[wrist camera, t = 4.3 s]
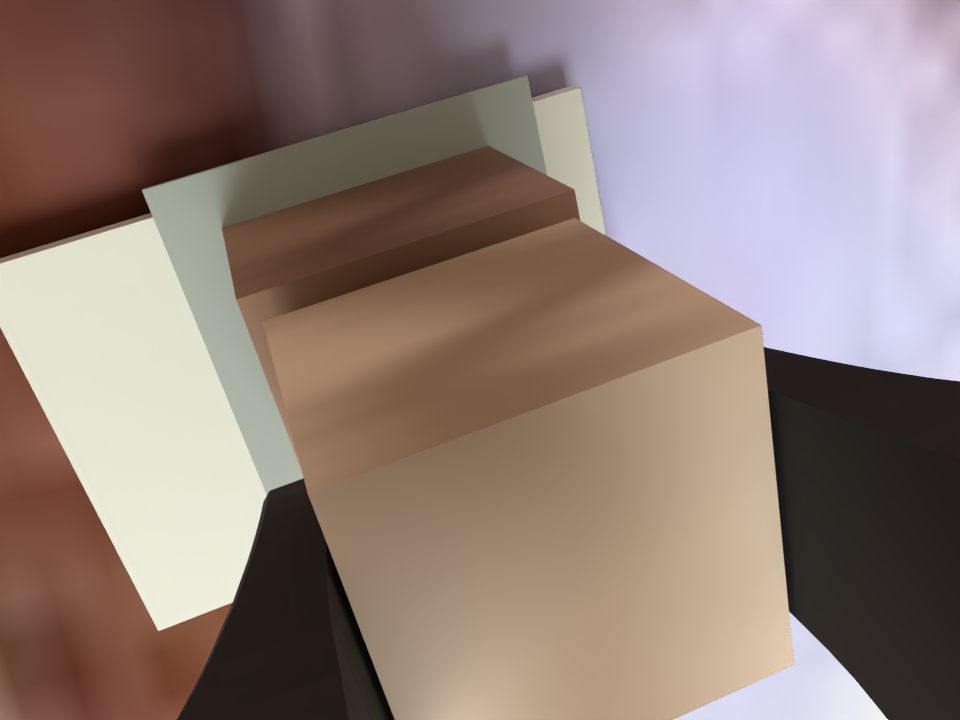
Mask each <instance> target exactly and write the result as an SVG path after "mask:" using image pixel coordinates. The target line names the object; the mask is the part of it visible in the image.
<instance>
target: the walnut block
mask: <svg viewBox="0 0 960 720" xmlns="http://www.w3.org/2000/svg"><path fill="white" fill-rule="evenodd" d="M573 218H576V219H578V220H580V216H579V211H578V205H577V200H576V194H575V189H573V188H571V187H569V186H567V185H565V184H563V183H561V182H559V181H557V180H555V179H553V178H551V177H549V176H547V175H545V174H543V173H541V172H539V171H537V170H535V169H533V168H532V167H530V166H528V165H526V164H524V163H522V162H520V161H518V160H516V159H514V158H512V157H510V156H508V155H506V154H504V153H502V152H500V151H498V150H496V149H494V148H492V147H490V146H485V147H482V148H479V149H476V150H472V151H469V152H466V153H463V154H459V155H456V156H453V157H450V158H447V159H443V160H440V161H437V162H434V163H430V164H427V165H424V166H421V167H418V168H414V169H411V170H408V171H405V172H401V173H398V174H395V175H392V176H388V177H385V178H382V179H379V180H376V181H372V182H369V183H366V184H363V185H359V186H356V187H353V188H350V189H347V190H343V191H340V192H337V193H334V194H330V195H327V196H324V197H321V198H317V199H314V200H311V201H308V202H305V203H301V204H298V205H295V206H292V207H288V208H285V209H282V210H279V211H276V212H272V213H269V214H266V215H263V216H259V217H256V218H253V219H250V220H247V221H243V222H240V223H237V224H234V225H230V226H227V227H224V228H222V232H223V237H224V242H225V247H226V252H227V257H228V262H229V267H230V272H231V277H232V282H233V287H234V292H235V296H236V301H237V303H238V306H239V308H240V311H241V314H242V316H243V319H244V321H245V324H246V327H247V329H248V332H249V335H250V337H251V340H252V342H253V345H254V348H255V350H256V353H257V355H258V358H259V361H260V363H261V366H262V369H263V371H264V374H265V376H266V379H267V382H268V384H269V387H270V389H271V392H272V395H273V397H274V400H275V402H276V405H277V408H278V410H279V413H280V416H281V418H282V421H283V423H284V426H285V429H286V431H287V434H288V436H289V439H290V442H291V444H292V447H293V449H294V452H295V455H296V457H297V460H298V463H299V465H300V462H299V459H298V455H297V451H296V447H295V444H294V440H293V436H292V432H291V428H290V425H289V421H288V417H287V413H286V410H285V406H284V402H283V398H282V394H281V391H280V387H279V383H278V379H277V376H276V372H275V368H274V364H273V360H272V357H271V353H270V349H269V345H268V342H267V338H266V334H265V330H264V326H263V323H262V322H263V321H266V320H269V319H272V318H275V317H278V316H281V315H284V314H287V313H290V312H293V311H296V310H299V309H302V308H305V307H308V306H311V305H314V304H317V303H320V302H323V301H326V300H329V299H332V298H335V297H338V296H341V295H344V294H347V293H350V292H353V291H356V290H359V289H362V288H365V287H368V286H371V285H374V284H377V283H380V282H383V281H386V280H389V279H392V278H395V277H398V276H401V275H404V274H407V273H410V272H413V271H416V270H419V269H422V268H425V267H428V266H431V265H434V264H437V263H440V262H443V261H446V260H449V259H452V258H456V257H459V256H462V255H465V254H468V253H471V252H474V251H477V250H480V249H483V248H486V247H489V246H492V245H495V244H498V243H501V242H504V241H507V240H510V239H513V238H516V237H519V236H522V235H525V234H528V233H531V232H534V231H537V230H540V229H543V228H546V227H549V226H552V225H555V224H558V223H561V222H564V221H567V220H570V219H573ZM300 468H301V466H300Z"/></svg>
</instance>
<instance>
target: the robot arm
mask: <svg viewBox="0 0 960 720" xmlns="http://www.w3.org/2000/svg"><path fill="white" fill-rule="evenodd" d="M764 358H765V368H766V378H767V389H768V399H769V410H770V420H771V430H772V441H773V451H774V461H775V472H776V482H777V493H778V503H779V513H780V524H781V534H782V544H783V555H784V565H785V576H786V586H787V596H788V607H789V612H790V613H791V614H792V615H793V616H794V617H795V618H796V619H797V620H798V621H799V622H800V623H802V624H803V625H804V626H805V627H806V628H807V629H808V630H809V631H810V632H811V633H812V634H813V635H814V636H815V637H816V638H817V639H818V640H819V641H820V642H821V643H822V644H823V645H824V646H825V647H826V648H827V649H828V650H829V651H830V652H831V654H832V655H833V656H834V657H835V658H836V659H837V660H838V661H839V662H840V663H841V664H842V665H843V667H844V668H845V669H846V670H847V671H848V672H849V673H850V674H851V675H852V676H853V677H854V679H855V680H856V681H857V682H858V683H859V685H860V686H861V687H862V688H863V689H864V691H865V692H866V693H867V694H868V696H869V697H870V698H871V699H872V700H873V702H874V703H875V704H876V705H877V707H878V708H879V709H880V710H881V712H882V713H883V714H884V715H885V716H886V718H887V719H888V720H960V382H959V381H951V380H943V379H934V378H927V377H920V376H914V375H907V374H901V373H894V372H888V371H882V370H875V369H870V368H864V367H859V366H853V365H848V364H842V363H837V362H832V361H827V360H822V359H817V358H812V357H808V356H803V355H798V354H793V353H789V352H784V351H779V350H775V349H770V348H765V347H764ZM177 720H395V719H394V717H393V714H392V711H391V709H390V706H389V704H388V701H387V698H386V696H385V693H384V691H383V688H382V685H381V683H380V680H379V678H378V675H377V672H376V670H375V667H374V665H373V662H372V659H371V657H370V654H369V652H368V649H367V646H366V644H365V641H364V639H363V636H362V633H361V631H360V628H359V626H358V623H357V620H356V618H355V615H354V613H353V610H352V607H351V605H350V602H349V600H348V597H347V594H346V592H345V589H344V587H343V584H342V581H341V579H340V576H339V574H338V571H337V568H336V566H335V563H334V561H333V558H332V555H331V553H330V550H329V548H328V545H327V542H326V540H325V537H324V535H323V532H322V529H321V527H320V524H319V522H318V519H317V516H316V514H315V511H314V509H313V506H312V503H311V501H310V498H309V496H308V493H307V489H306V485H305V481H304V478H303V479H300V480H297V481H295V482H292V483H289V484H287V485H284V486H281V487H278V488H276V489H273V490H270V491H269V493H268V494H267V496H266V498H265V500H264V502H263V506H262V511H261V515H260V519H259V523H258V527H257V531H256V534H255V538H254V541H253V545H252V548H251V551H250V554H249V558H248V561H247V564H246V566H245V569H244V572H243V575H242V578H241V581H240V583H239V586H238V589H237V592H236V595H235V597H234V600H233V603H232V605H231V608H230V610H229V613H228V615H227V618H226V620H225V622H224V624H223V627H222V629H221V631H220V633H219V636H218V638H217V640H216V643H215V645H214V647H213V649H212V652H211V654H210V656H209V659H208V661H207V663H206V665H205V667H204V669H203V671H202V673H201V675H200V677H199V679H198V681H197V683H196V685H195V687H194V689H193V691H192V693H191V695H190V697H189V699H188V700H187V702H186V704H185V706H184V708H183V709H182V711H181V713H180V715H179V717H178V718H177Z"/></svg>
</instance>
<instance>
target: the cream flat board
mask: <svg viewBox="0 0 960 720" xmlns="http://www.w3.org/2000/svg"><path fill="white" fill-rule="evenodd" d="M485 146H490V147H492V148H494V149H496V150H498V151H500V152H502V153H504V154H506V155H508V156H510V157H512V158H514V159H516V160H518V161H520V162H522V163H524V164H526V165H528V166H530V167H532V168H533V169H535V170H537V171H539V172H541V173H543V174H545V175H547V176H549V177H551V178H553V179H555V180H557V181H559V182H561V183H563V184H565V185H567V186H569V187H571V188H573V189H575V194H576V200H577V205H578V211H579V216H580V221H581V222H583V223H585V224H586V225H588V226H590V227H592V228H593V229H595V230H597V231H599V232H600V233H602V234H604V235H606V233H605V228H604V222H603V216H602V210H601V205H600V199H599V193H598V187H597V181H596V176H595V170H594V164H593V158H592V153H591V147H590V141H589V135H588V129H587V124H586V118H585V112H584V106H583V101H582V95H581V89H580V87H576V86H569V87H565V88H562V89H559V90H555V91H552V92H549V93H545V94H542V95H539V96H536V97H532V96H531V91H530V86H529V81H528V76H527V75H524V76H521V77H518V78H514V79H511V80H508V81H504V82H501V83H498V84H494V85H491V86H487V87H484V88H481V89H477V90H474V91H471V92H467V93H464V94H460V95H457V96H454V97H450V98H447V99H444V100H440V101H437V102H434V103H430V104H427V105H423V106H420V107H417V108H413V109H410V110H407V111H403V112H400V113H397V114H393V115H390V116H386V117H383V118H380V119H376V120H373V121H370V122H366V123H363V124H359V125H356V126H353V127H349V128H346V129H343V130H339V131H336V132H333V133H329V134H326V135H322V136H319V137H316V138H312V139H309V140H306V141H302V142H299V143H295V144H292V145H289V146H285V147H282V148H279V149H275V150H272V151H269V152H265V153H262V154H258V155H255V156H252V157H248V158H245V159H242V160H238V161H235V162H232V163H228V164H225V165H221V166H218V167H215V168H211V169H208V170H205V171H201V172H198V173H194V174H191V175H188V176H184V177H181V178H178V179H174V180H171V181H168V182H164V183H161V184H157V185H154V186H151V187H147V188H144V189H142V192H143V194H144V197H145V199H146V202H147V204H148V207H149V209H150V211H151V213H149V214H145V215H142V216H139V217H135V218H132V219H129V220H125V221H122V222H119V223H115V224H112V225H109V226H106V227H102V228H99V229H96V230H92V231H89V232H86V233H82V234H79V235H76V236H72V237H69V238H66V239H63V240H59V241H56V242H53V243H49V244H46V245H43V246H39V247H36V248H33V249H29V250H26V251H23V252H20V253H16V254H13V255H10V256H6V257H3V258H0V327H1V329H2V331H3V333H4V335H5V337H6V339H7V341H8V343H9V345H10V347H11V349H12V351H13V352H14V354H15V356H16V358H17V360H18V362H19V364H20V366H21V368H22V370H23V372H24V374H25V375H26V377H27V379H28V381H29V383H30V385H31V387H32V389H33V391H34V393H35V395H36V397H37V399H38V400H39V402H40V404H41V406H42V408H43V410H44V412H45V414H46V416H47V418H48V420H49V422H50V424H51V425H52V427H53V429H54V431H55V433H56V435H57V437H58V439H59V441H60V443H61V445H62V447H63V449H64V450H65V452H66V454H67V456H68V458H69V460H70V462H71V464H72V466H73V468H74V470H75V472H76V473H77V475H78V477H79V479H80V481H81V483H82V485H83V487H84V489H85V491H86V493H87V495H88V497H89V498H90V500H91V502H92V504H93V506H94V508H95V510H96V512H97V514H98V516H99V518H100V520H101V522H102V523H103V525H104V527H105V529H106V531H107V533H108V535H109V537H110V539H111V541H112V543H113V545H114V546H115V548H116V550H117V552H118V554H119V556H120V558H121V560H122V562H123V564H124V566H125V568H126V570H127V571H128V573H129V575H130V577H131V579H132V581H133V583H134V585H135V587H136V589H137V591H138V593H139V595H140V596H141V598H142V600H143V602H144V604H145V606H146V608H147V610H148V612H149V614H150V616H151V618H152V619H153V621H154V623H155V625H156V627H157V629H158V631H160V630H162V629H165V628H168V627H170V626H173V625H175V624H178V623H180V622H183V621H186V620H188V619H191V618H193V617H196V616H198V615H201V614H204V613H206V612H209V611H211V610H214V609H216V608H219V607H222V606H224V605H227V604H229V603H232V602H233V600H234V597H235V595H236V592H237V589H238V586H239V583H240V581H241V578H242V575H243V572H244V569H245V566H246V564H247V561H248V558H249V554H250V551H251V548H252V545H253V541H254V538H255V534H256V531H257V527H258V523H259V519H260V515H261V511H262V506H263V502H264V500H265V498H266V496H267V494H268V493H269V491H270V490H273V489H276V488H278V487H281V486H284V485H287V484H289V483H292V482H295V481H297V480H300V479H303V474H302V470H301V468H300V465H299V463H298V460H297V457H296V455H295V452H294V449H293V447H292V444H291V442H290V439H289V436H288V434H287V431H286V429H285V426H284V423H283V421H282V418H281V416H280V413H279V410H278V408H277V405H276V402H275V400H274V397H273V395H272V392H271V389H270V387H269V384H268V382H267V379H266V376H265V374H264V371H263V369H262V366H261V363H260V361H259V358H258V355H257V353H256V350H255V348H254V345H253V342H252V340H251V337H250V335H249V332H248V329H247V327H246V324H245V321H244V319H243V316H242V314H241V311H240V308H239V306H238V303H237V301H236V296H235V292H234V287H233V282H232V277H231V272H230V267H229V262H228V257H227V252H226V247H225V242H224V237H223V232H222V228H224V227H227V226H230V225H234V224H237V223H240V222H243V221H247V220H250V219H253V218H256V217H259V216H263V215H266V214H269V213H272V212H276V211H279V210H282V209H285V208H288V207H292V206H295V205H298V204H301V203H305V202H308V201H311V200H314V199H317V198H321V197H324V196H327V195H330V194H334V193H337V192H340V191H343V190H347V189H350V188H353V187H356V186H359V185H363V184H366V183H369V182H372V181H376V180H379V179H382V178H385V177H388V176H392V175H395V174H398V173H401V172H405V171H408V170H411V169H414V168H418V167H421V166H424V165H427V164H430V163H434V162H437V161H440V160H443V159H447V158H450V157H453V156H456V155H459V154H463V153H466V152H469V151H472V150H476V149H479V148H482V147H485Z"/></svg>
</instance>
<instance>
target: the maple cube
mask: <svg viewBox="0 0 960 720" xmlns="http://www.w3.org/2000/svg"><path fill="white" fill-rule="evenodd" d="M262 323H263V326H264V330H265V334H266V338H267V342H268V345H269V349H270V353H271V357H272V360H273V364H274V368H275V372H276V376H277V379H278V383H279V387H280V391H281V394H282V398H283V402H284V406H285V410H286V413H287V417H288V421H289V425H290V428H291V432H292V436H293V440H294V444H295V447H296V451H297V455H298V459H299V462H300V466H301V470H302V474H303V478H304V481H305V485H306V489H307V493H308V496H309V498H310V501H311V503H312V506H313V509H314V511H315V514H316V516H317V519H318V522H319V524H320V527H321V529H322V532H323V535H324V537H325V540H326V542H327V545H328V548H329V550H330V553H331V555H332V558H333V561H334V563H335V566H336V568H337V571H338V574H339V576H340V579H341V581H342V584H343V587H344V589H345V592H346V594H347V597H348V600H349V602H350V605H351V607H352V610H353V613H354V615H355V618H356V620H357V623H358V626H359V628H360V631H361V633H362V636H363V639H364V641H365V644H366V646H367V649H368V652H369V654H370V657H371V659H372V662H373V665H374V667H375V670H376V672H377V675H378V678H379V680H380V683H381V685H382V688H383V691H384V693H385V696H386V698H387V701H388V704H389V706H390V709H391V711H392V714H393V717H394V719H395V720H673V719H675V718H678V717H680V716H682V715H684V714H686V713H689V712H691V711H693V710H695V709H697V708H700V707H702V706H704V705H706V704H708V703H711V702H713V701H715V700H717V699H719V698H722V697H724V696H726V695H728V694H730V693H733V692H735V691H737V690H739V689H741V688H744V687H746V686H748V685H750V684H752V683H755V682H757V681H759V680H761V679H764V678H766V677H768V676H770V675H772V674H775V673H777V672H779V671H781V670H783V669H786V668H788V667H790V666H792V665H794V659H793V648H792V638H791V627H790V617H789V607H788V596H787V586H786V576H785V565H784V555H783V544H782V534H781V524H780V513H779V503H778V493H777V482H776V472H775V461H774V451H773V441H772V430H771V420H770V410H769V399H768V389H767V378H766V368H765V358H764V347H763V337H762V327H761V325H760V324H758V323H756V322H755V321H753V320H751V319H750V318H748V317H746V316H744V315H743V314H741V313H739V312H737V311H736V310H734V309H732V308H730V307H729V306H727V305H725V304H724V303H722V302H720V301H718V300H717V299H715V298H713V297H711V296H710V295H708V294H706V293H704V292H703V291H701V290H699V289H697V288H696V287H694V286H692V285H691V284H689V283H687V282H685V281H684V280H682V279H680V278H678V277H677V276H675V275H673V274H671V273H670V272H668V271H666V270H665V269H663V268H661V267H659V266H658V265H656V264H654V263H652V262H651V261H649V260H647V259H645V258H644V257H642V256H640V255H639V254H637V253H635V252H633V251H632V250H630V249H628V248H626V247H625V246H623V245H621V244H619V243H618V242H616V241H614V240H612V239H611V238H609V237H607V236H606V235H604V234H602V233H600V232H599V231H597V230H595V229H593V228H592V227H590V226H588V225H586V224H585V223H583V222H581V221H580V220H578V219H576V218H573V219H570V220H567V221H564V222H561V223H558V224H555V225H552V226H549V227H546V228H543V229H540V230H537V231H534V232H531V233H528V234H525V235H522V236H519V237H516V238H513V239H510V240H507V241H504V242H501V243H498V244H495V245H492V246H489V247H486V248H483V249H480V250H477V251H474V252H471V253H468V254H465V255H462V256H459V257H456V258H452V259H449V260H446V261H443V262H440V263H437V264H434V265H431V266H428V267H425V268H422V269H419V270H416V271H413V272H410V273H407V274H404V275H401V276H398V277H395V278H392V279H389V280H386V281H383V282H380V283H377V284H374V285H371V286H368V287H365V288H362V289H359V290H356V291H353V292H350V293H347V294H344V295H341V296H338V297H335V298H332V299H329V300H326V301H323V302H320V303H317V304H314V305H311V306H308V307H305V308H302V309H299V310H296V311H293V312H290V313H287V314H284V315H281V316H278V317H275V318H272V319H269V320H266V321H263V322H262Z"/></svg>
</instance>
